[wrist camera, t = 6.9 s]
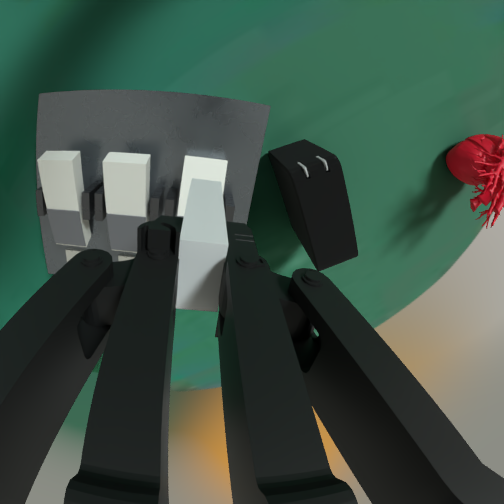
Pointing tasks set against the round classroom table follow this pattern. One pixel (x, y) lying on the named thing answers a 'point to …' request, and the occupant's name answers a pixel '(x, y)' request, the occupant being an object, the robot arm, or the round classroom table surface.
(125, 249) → the rocker mid
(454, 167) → the heart organ
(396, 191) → the round classroom table surface
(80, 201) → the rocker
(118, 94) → the console
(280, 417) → the robot arm
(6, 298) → the round classroom table surface
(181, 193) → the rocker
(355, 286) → the round classroom table surface
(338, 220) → the electronic device
